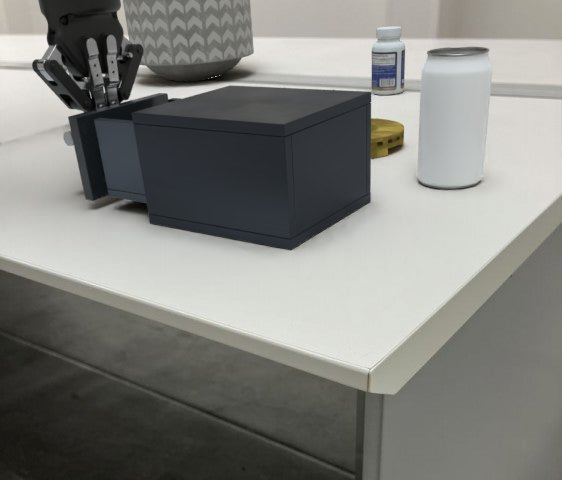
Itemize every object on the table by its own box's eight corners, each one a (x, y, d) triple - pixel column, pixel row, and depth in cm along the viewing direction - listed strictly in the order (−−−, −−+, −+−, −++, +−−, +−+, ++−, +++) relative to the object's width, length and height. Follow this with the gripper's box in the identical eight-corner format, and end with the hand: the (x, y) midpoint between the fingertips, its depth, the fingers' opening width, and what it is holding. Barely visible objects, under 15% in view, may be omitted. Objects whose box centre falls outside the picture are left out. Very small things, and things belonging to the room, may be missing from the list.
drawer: (53, 194, 70) (33, 113, 66) (138, 163, 79) (126, 90, 75) (196, 219, 60) (184, 126, 56) (277, 181, 69) (271, 99, 65)
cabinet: (149, 223, 63) (130, 112, 58) (239, 183, 73) (229, 85, 68) (290, 250, 55) (283, 124, 50) (370, 201, 65) (371, 91, 60)
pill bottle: (388, 88, 117) (389, 25, 112) (410, 91, 113) (412, 26, 108) (364, 93, 114) (364, 28, 109) (387, 96, 111) (388, 29, 106)
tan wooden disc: (381, 163, 76) (381, 143, 75) (287, 156, 82) (286, 137, 80) (417, 138, 85) (418, 120, 84) (330, 133, 90) (330, 116, 89)
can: (496, 181, 68) (510, 48, 62) (446, 194, 65) (455, 57, 59) (451, 168, 73) (460, 44, 66) (403, 180, 70) (407, 52, 64)
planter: (179, 68, 157) (163, -54, 145) (275, 68, 147) (267, -63, 135) (111, 87, 139) (86, -51, 126) (216, 88, 129) (201, -62, 116)
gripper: (97, -44, 69) (128, 133, 78) (-15, -39, 60) (34, 161, 69) (151, -49, 65) (176, 137, 74) (39, -44, 56) (84, 168, 65)
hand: (108, 148), depth 72 cm, fingers closed
